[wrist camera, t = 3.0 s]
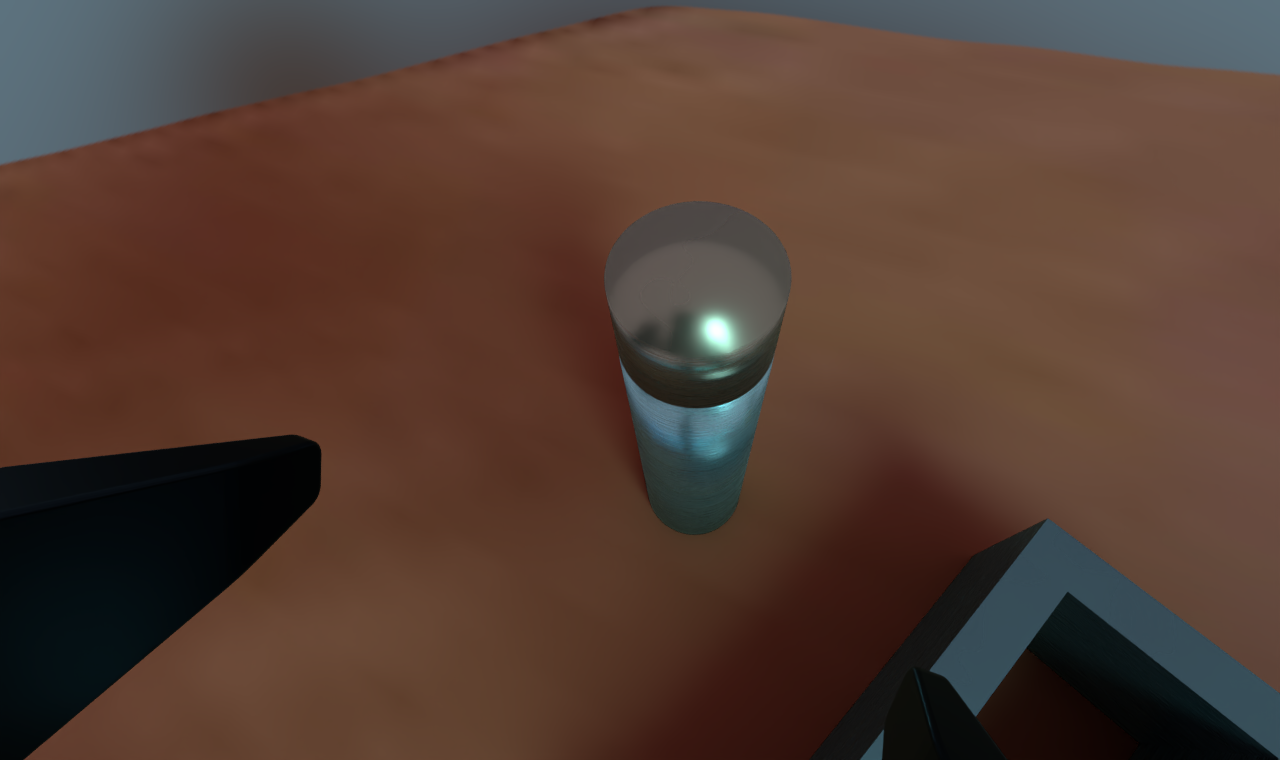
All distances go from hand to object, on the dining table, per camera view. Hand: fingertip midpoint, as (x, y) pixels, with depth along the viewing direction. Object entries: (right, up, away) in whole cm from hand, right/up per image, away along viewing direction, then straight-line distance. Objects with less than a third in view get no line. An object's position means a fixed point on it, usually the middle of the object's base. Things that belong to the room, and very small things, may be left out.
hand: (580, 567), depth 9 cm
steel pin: (+3, -1, +12) cm, 12 cm away
